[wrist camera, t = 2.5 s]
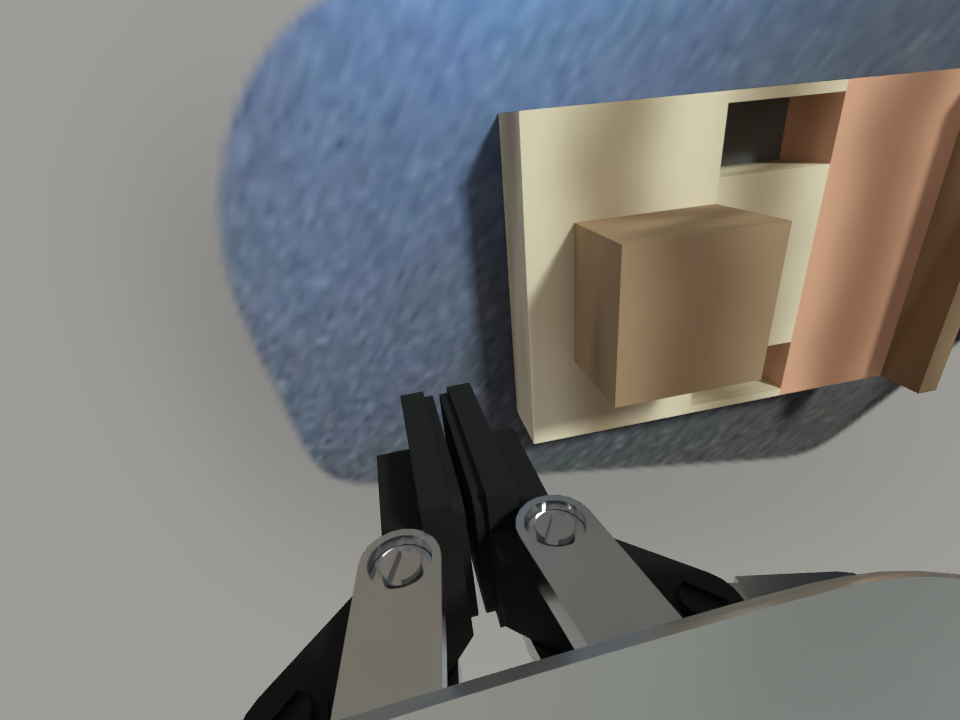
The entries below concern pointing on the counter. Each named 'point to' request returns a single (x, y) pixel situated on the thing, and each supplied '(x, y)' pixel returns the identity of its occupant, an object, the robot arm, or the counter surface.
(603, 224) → the block
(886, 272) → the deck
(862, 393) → the counter surface
